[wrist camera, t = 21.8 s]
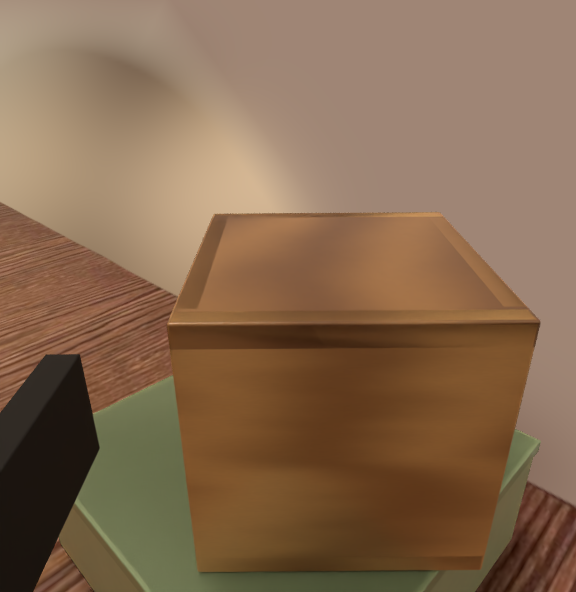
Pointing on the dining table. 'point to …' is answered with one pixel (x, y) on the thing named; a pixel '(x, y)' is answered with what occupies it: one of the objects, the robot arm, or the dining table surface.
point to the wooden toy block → (345, 392)
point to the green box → (178, 528)
